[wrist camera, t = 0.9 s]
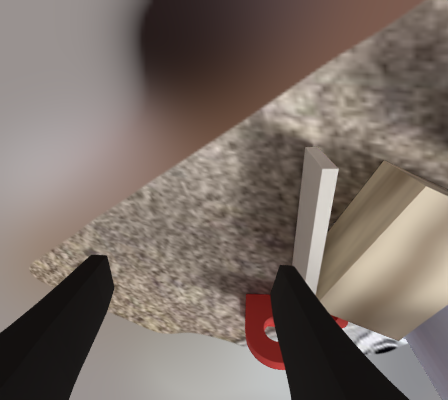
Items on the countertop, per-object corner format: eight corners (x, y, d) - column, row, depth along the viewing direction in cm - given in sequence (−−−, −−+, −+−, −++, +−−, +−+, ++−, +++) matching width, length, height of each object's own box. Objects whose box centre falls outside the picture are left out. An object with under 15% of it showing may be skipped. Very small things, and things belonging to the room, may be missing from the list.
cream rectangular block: (471, 200, 21) (538, 237, 16) (372, 293, 27) (398, 340, 22) (384, 160, 20) (426, 186, 15) (301, 265, 26) (313, 307, 21)
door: (317, 146, 20) (338, 168, 15) (301, 264, 26) (313, 308, 21) (305, 147, 20) (322, 168, 15) (292, 264, 26) (301, 307, 21)
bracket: (247, 317, 31) (246, 386, 24) (246, 293, 29) (244, 360, 22) (343, 320, 30) (371, 395, 23) (348, 295, 28) (381, 369, 21)
